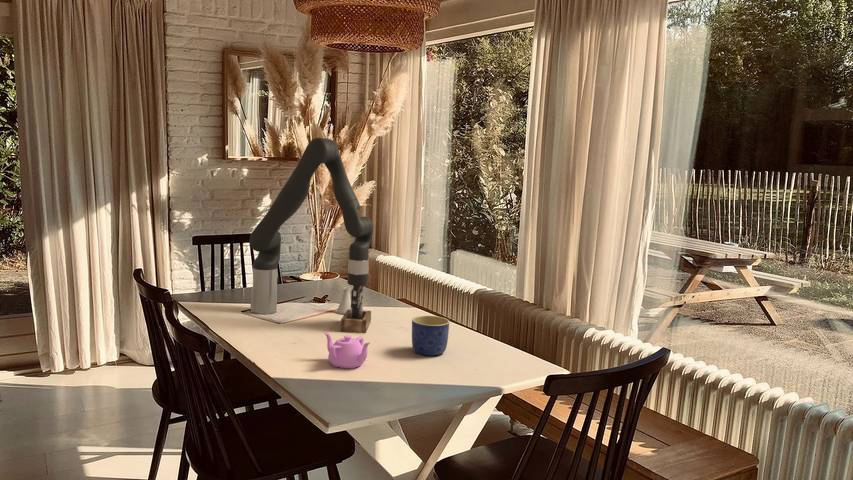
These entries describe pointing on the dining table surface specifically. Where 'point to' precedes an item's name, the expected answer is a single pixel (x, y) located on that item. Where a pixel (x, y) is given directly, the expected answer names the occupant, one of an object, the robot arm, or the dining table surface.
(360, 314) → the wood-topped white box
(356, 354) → the teapot
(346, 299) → the flask
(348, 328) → the rectangular wooden frame
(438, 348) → the planter
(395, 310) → the dining table surface
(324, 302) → the dining table surface
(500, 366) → the dining table surface
